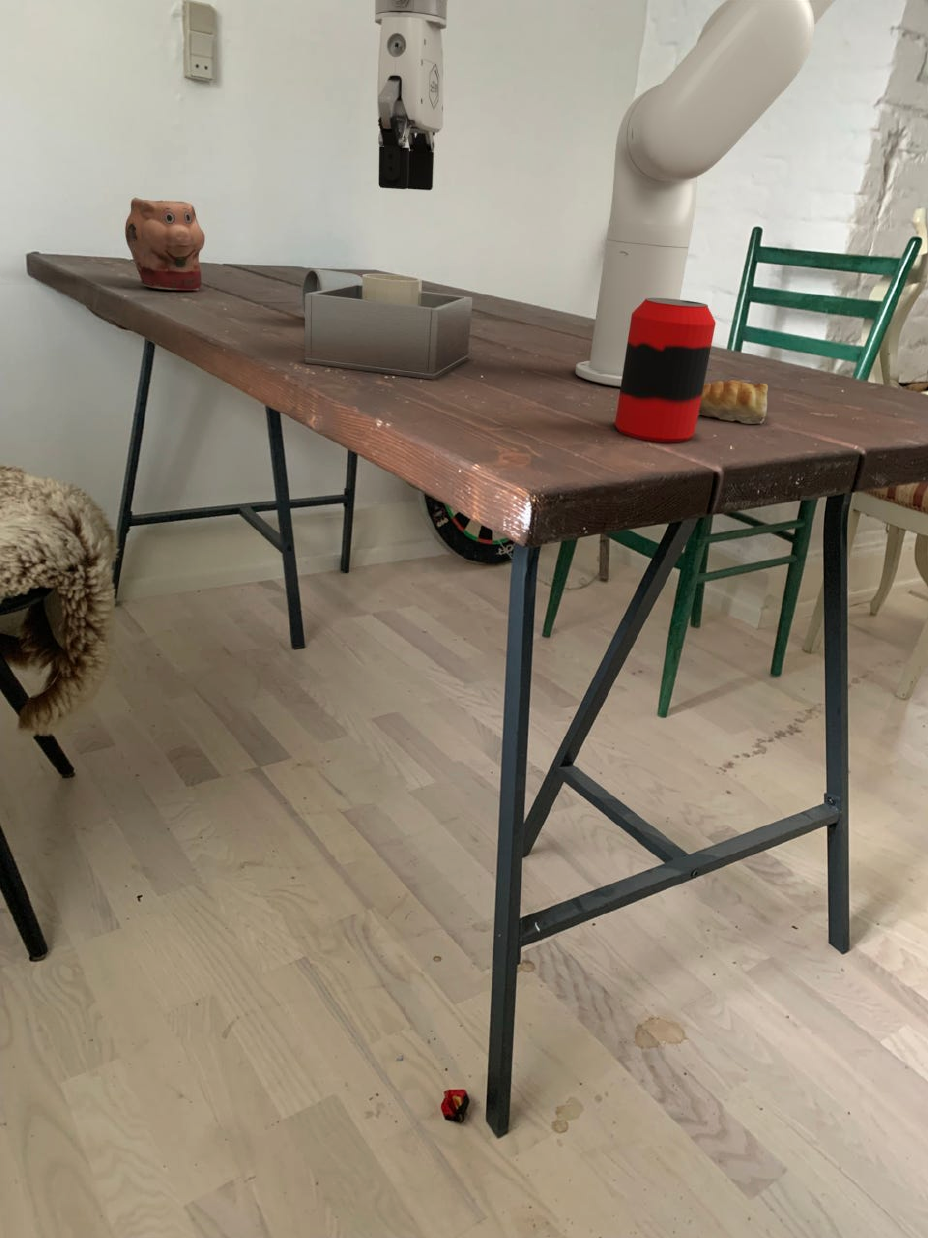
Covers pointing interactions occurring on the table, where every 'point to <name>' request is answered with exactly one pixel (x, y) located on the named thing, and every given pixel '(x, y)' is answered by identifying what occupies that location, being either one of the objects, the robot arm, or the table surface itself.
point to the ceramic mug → (326, 281)
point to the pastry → (734, 401)
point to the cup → (392, 289)
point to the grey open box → (387, 332)
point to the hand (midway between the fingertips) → (406, 188)
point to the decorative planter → (165, 244)
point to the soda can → (664, 369)
